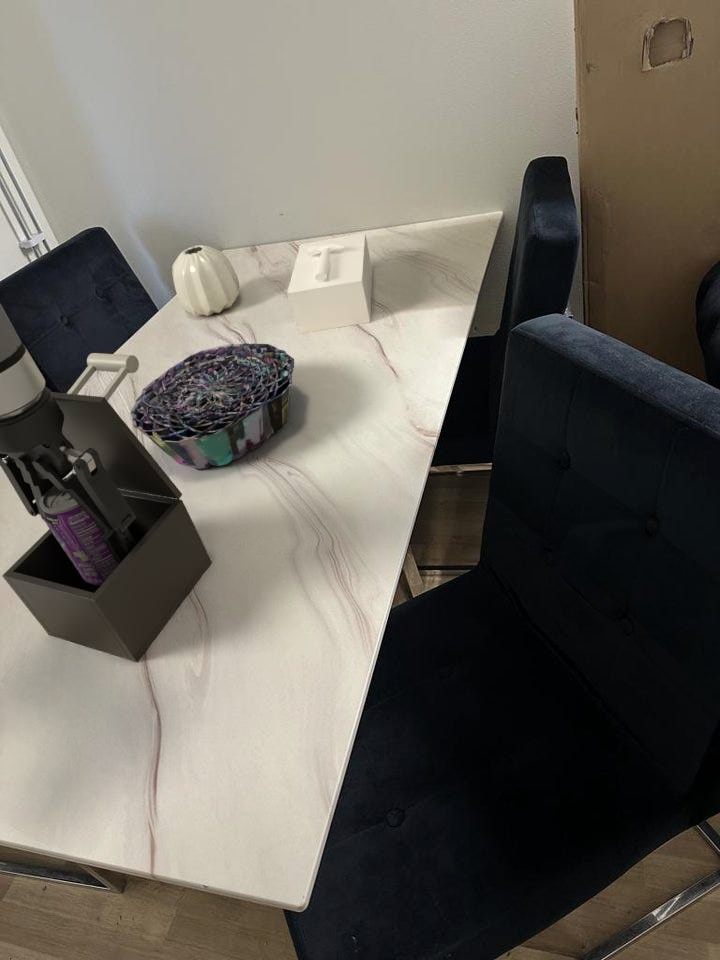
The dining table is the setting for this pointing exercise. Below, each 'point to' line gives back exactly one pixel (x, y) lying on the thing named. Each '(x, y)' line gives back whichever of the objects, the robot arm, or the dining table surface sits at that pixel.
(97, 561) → the beverage can
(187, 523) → the dark open box
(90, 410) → the lid
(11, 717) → the dining table surface
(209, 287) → the vase
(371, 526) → the dining table surface
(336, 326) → the white embossed block
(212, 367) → the decorative bowl
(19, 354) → the robot arm
